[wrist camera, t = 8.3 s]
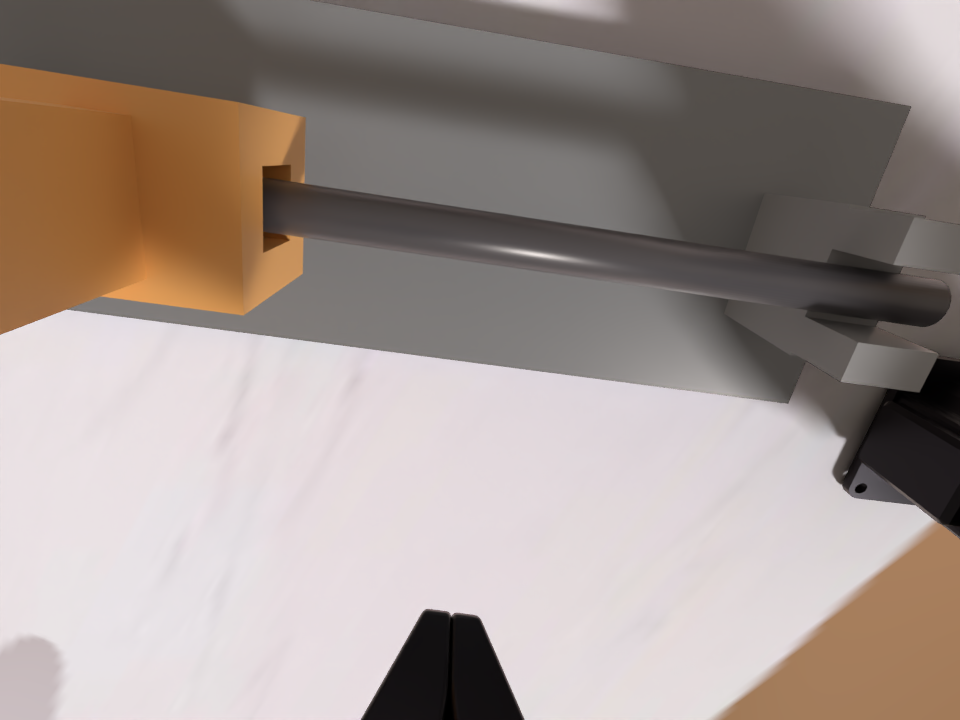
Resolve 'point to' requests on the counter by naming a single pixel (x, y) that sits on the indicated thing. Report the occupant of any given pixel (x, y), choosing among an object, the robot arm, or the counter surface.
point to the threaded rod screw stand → (540, 196)
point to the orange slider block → (138, 197)
